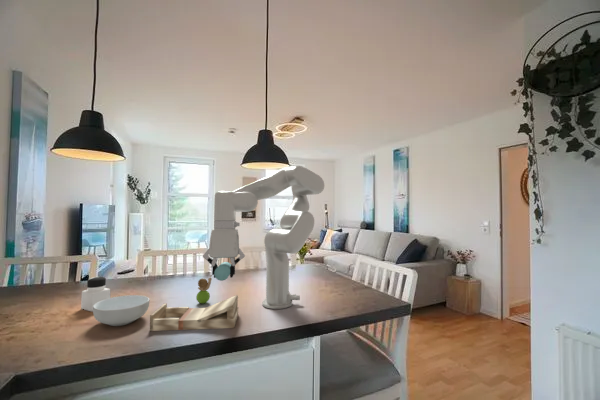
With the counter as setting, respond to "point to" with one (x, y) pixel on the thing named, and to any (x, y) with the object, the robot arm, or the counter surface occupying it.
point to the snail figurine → (203, 290)
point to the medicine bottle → (94, 293)
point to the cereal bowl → (120, 309)
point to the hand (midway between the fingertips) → (223, 276)
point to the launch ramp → (196, 316)
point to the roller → (222, 271)
